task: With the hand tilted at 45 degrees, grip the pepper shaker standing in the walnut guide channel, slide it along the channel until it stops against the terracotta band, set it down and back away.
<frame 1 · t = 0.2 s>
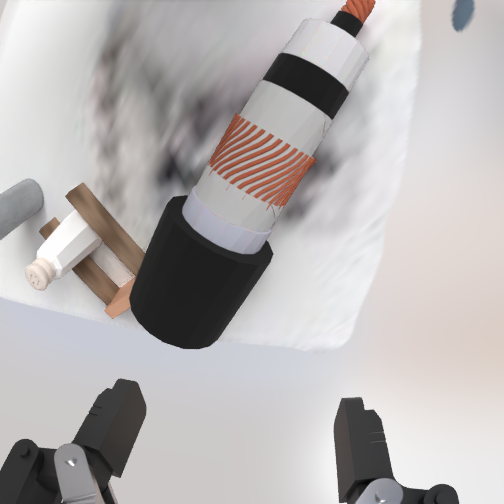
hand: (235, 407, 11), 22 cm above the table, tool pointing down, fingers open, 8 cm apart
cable: (263, 148, 28), on the table
pepper shaker: (87, 226, 33), resting in guide channel
planter: (32, 194, 31), on the table
guide channel: (103, 245, 34), on the table
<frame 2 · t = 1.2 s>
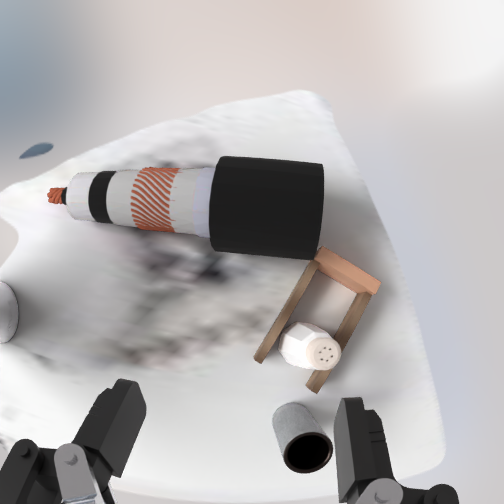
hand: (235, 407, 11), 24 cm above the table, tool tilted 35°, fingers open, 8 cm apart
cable: (170, 212, 38), on the table
pepper shaker: (300, 343, 35), resting in guide channel
planter: (290, 419, 33), on the table
guide channel: (313, 321, 35), on the table
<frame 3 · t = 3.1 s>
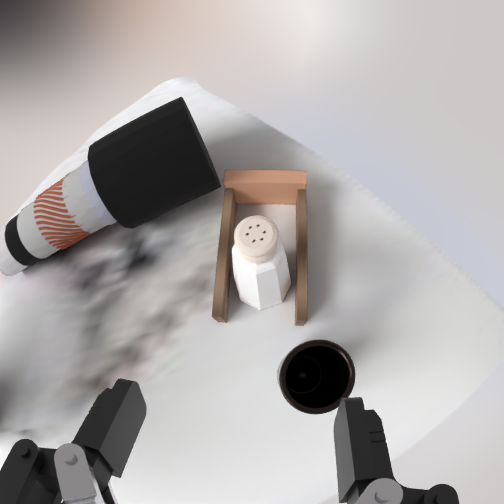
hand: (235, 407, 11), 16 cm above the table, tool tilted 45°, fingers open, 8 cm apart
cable: (86, 229, 34), on the table
pepper shaker: (262, 283, 30), resting in guide channel
planter: (302, 374, 26), on the table
guide channel: (264, 253, 31), on the table
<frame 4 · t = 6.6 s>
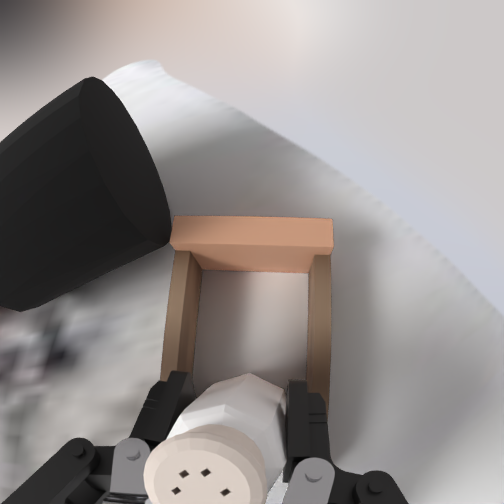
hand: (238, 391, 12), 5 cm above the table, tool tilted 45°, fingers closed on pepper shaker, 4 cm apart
pepper shaker: (246, 419, 15), resting in guide channel, touching gripper
guide channel: (249, 367, 16), on the table
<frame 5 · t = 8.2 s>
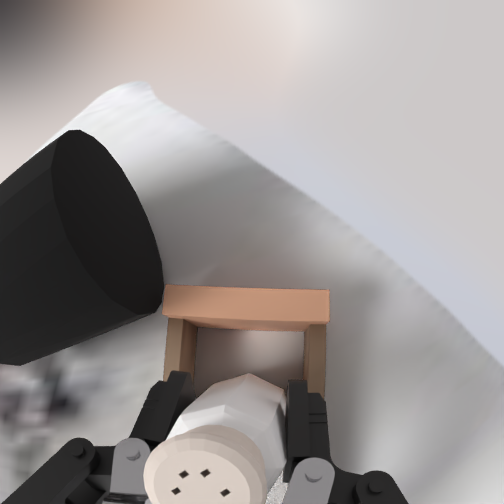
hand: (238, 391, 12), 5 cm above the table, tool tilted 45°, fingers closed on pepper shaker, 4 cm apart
pepper shaker: (246, 419, 15), point 1 cm above the table, touching gripper
guide channel: (245, 423, 16), on the table
when the fingers open (5 cm above the table, at t = 9.7 s): pepper shaker stays where it is, resting in guide channel.
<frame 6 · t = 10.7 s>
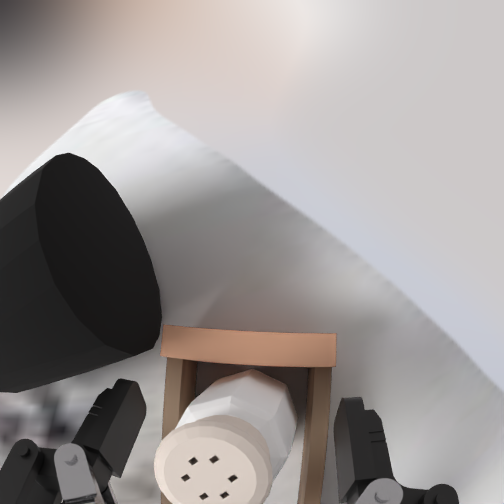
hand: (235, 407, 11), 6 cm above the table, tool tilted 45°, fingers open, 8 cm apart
pepper shaker: (249, 413, 16), resting in guide channel
guide channel: (246, 457, 15), on the table
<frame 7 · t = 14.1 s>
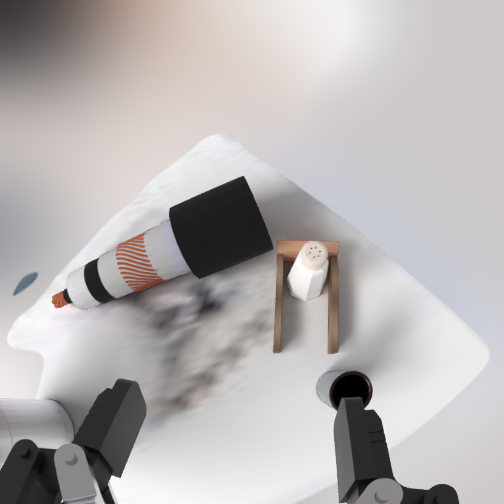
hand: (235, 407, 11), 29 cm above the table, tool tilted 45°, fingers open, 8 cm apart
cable: (154, 271, 44), on the table
pepper shaker: (305, 282, 42), resting in guide channel
planter: (332, 387, 37), on the table
guide channel: (305, 301, 41), on the table
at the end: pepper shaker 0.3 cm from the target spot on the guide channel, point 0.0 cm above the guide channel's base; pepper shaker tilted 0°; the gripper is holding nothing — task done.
